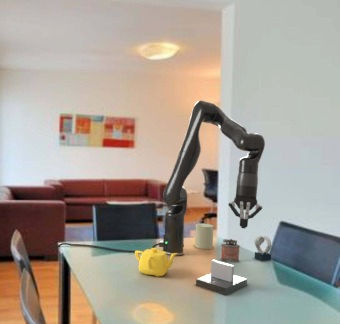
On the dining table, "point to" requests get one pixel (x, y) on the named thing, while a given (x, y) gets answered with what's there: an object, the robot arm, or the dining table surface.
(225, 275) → the knob
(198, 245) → the can
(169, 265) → the teapot
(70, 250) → the dining table surface
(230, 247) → the lighter
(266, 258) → the watch
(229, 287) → the hob panel
